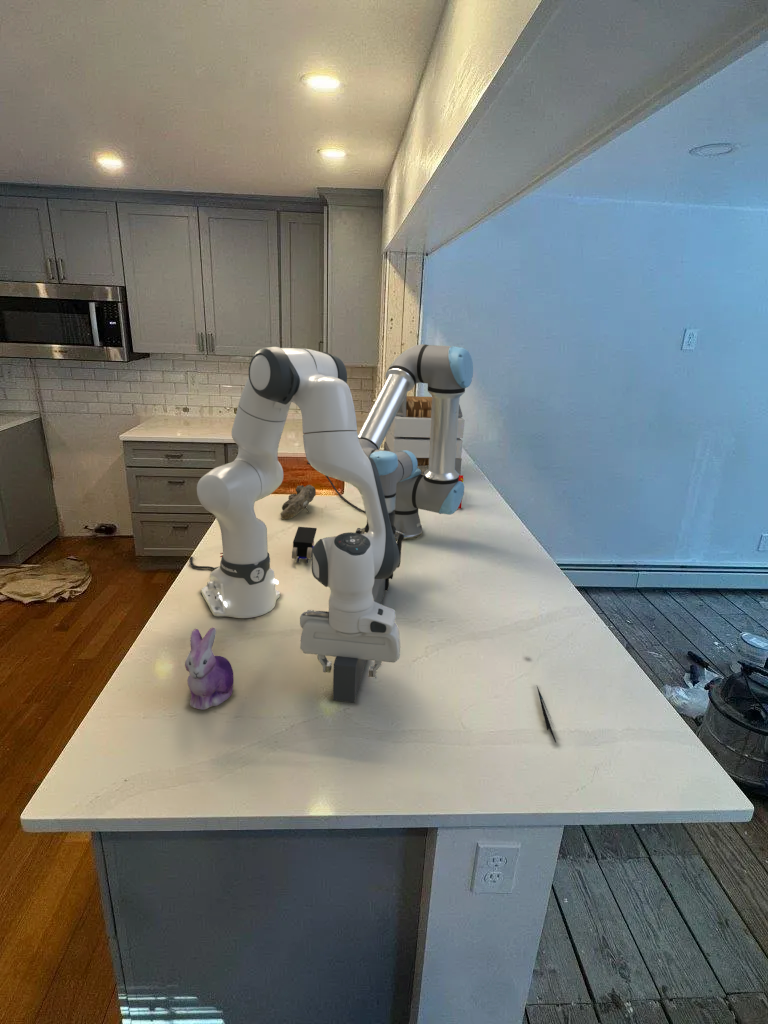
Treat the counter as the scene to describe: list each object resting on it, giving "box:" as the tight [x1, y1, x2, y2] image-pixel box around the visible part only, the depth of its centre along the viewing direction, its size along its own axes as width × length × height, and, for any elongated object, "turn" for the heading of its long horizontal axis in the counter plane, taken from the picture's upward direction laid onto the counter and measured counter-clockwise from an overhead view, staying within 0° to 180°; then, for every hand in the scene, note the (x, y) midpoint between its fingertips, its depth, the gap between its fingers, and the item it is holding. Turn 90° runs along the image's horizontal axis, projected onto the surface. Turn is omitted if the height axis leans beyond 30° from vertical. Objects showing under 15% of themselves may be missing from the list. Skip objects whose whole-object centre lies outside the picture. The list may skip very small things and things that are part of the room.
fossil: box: [280, 484, 317, 520], centre depth 215 cm, size 22×10×15 cm
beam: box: [332, 579, 386, 704], centre depth 138 cm, size 54×4×9 cm, turn 173°
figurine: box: [184, 626, 234, 711], centre depth 111 cm, size 9×10×15 cm
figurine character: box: [291, 526, 318, 564], centre depth 177 cm, size 7×8×15 cm
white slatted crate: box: [383, 393, 465, 475], centre depth 268 cm, size 34×33×41 cm
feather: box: [527, 657, 557, 743], centre depth 118 cm, size 2×28×2 cm
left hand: (349, 673), depth 117 cm, fingers open, 8 cm apart
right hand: (377, 587), depth 160 cm, fingers closed on beam, 4 cm apart
